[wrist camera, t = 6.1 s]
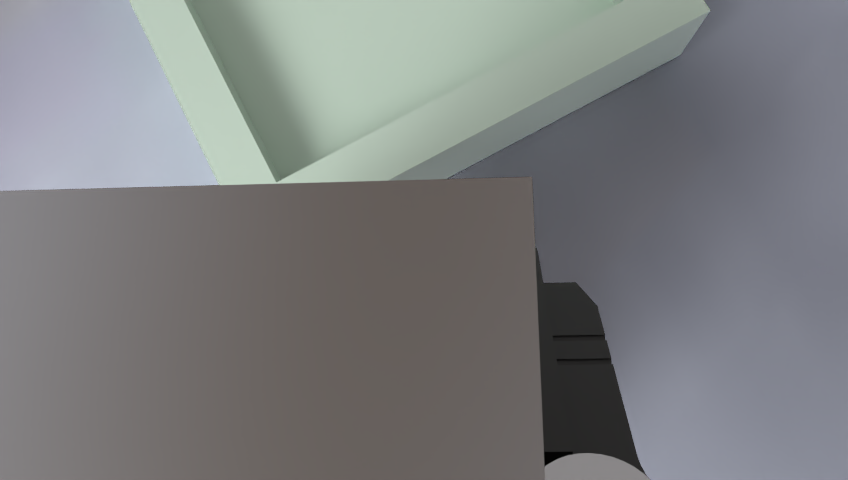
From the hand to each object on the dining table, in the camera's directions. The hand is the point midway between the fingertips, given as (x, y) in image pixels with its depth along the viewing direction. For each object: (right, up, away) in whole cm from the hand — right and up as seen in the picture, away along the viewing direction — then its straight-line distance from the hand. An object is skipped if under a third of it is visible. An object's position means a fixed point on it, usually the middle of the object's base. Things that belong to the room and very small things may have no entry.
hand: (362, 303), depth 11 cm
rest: (0, +7, +6) cm, 9 cm away
